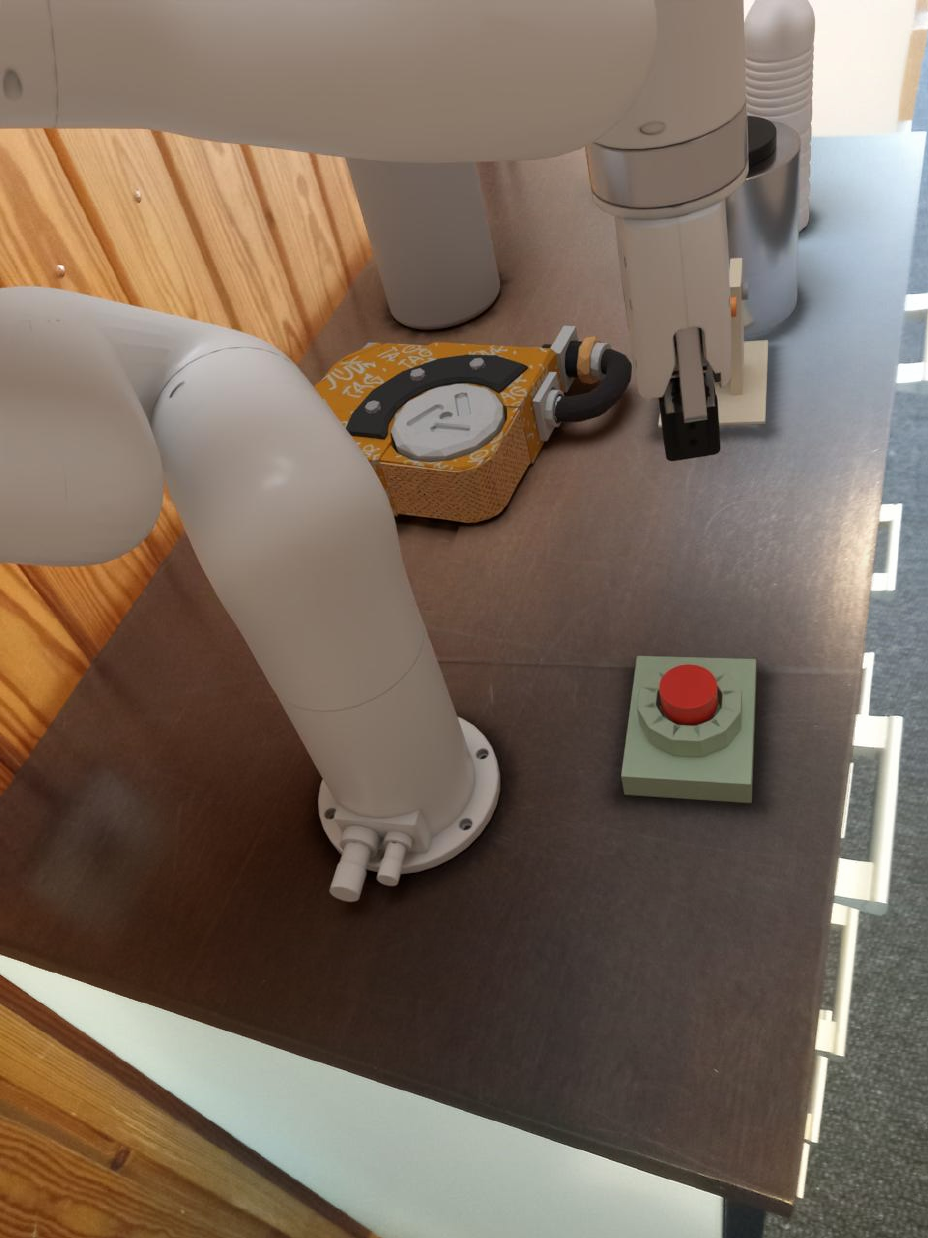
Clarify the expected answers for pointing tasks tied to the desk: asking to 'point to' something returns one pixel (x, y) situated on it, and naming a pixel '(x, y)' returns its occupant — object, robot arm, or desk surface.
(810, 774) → the desk surface
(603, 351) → the device
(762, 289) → the silver metal cylinder
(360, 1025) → the desk surface
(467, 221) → the cylinder vase
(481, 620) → the desk surface
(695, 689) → the power button
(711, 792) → the push button block
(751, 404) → the lever stand
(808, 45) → the water bottle
